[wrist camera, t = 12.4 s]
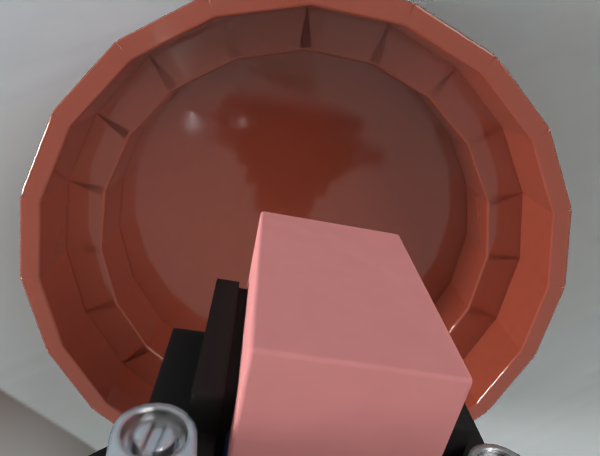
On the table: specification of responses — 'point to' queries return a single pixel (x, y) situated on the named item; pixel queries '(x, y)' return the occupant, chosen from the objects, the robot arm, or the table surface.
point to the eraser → (341, 348)
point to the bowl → (288, 181)
